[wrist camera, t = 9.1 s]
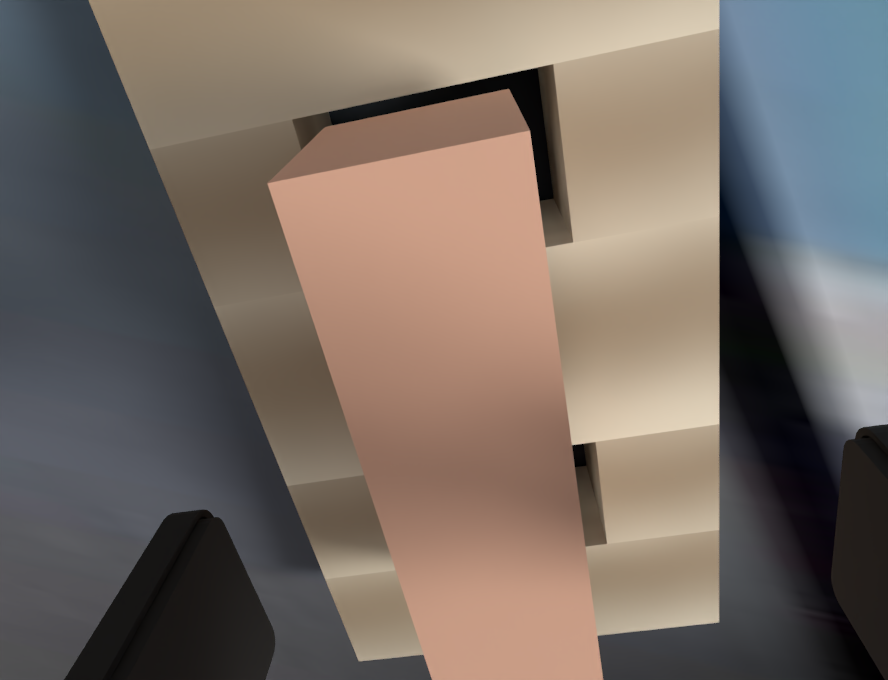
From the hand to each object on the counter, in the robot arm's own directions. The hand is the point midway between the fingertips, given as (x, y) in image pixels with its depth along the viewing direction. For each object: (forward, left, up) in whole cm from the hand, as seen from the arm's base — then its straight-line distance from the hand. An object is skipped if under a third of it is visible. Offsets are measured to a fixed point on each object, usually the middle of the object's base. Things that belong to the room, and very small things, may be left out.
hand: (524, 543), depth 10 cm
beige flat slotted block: (+1, +1, -8) cm, 8 cm away
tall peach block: (+1, +1, -8) cm, 8 cm away
